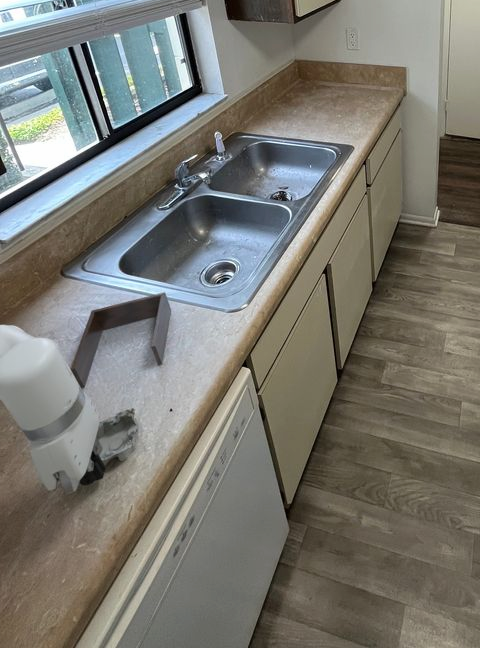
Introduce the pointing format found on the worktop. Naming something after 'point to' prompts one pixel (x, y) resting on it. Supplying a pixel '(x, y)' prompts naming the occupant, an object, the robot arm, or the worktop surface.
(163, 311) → the frame
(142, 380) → the worktop surface
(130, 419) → the egg carton
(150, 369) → the worktop surface
